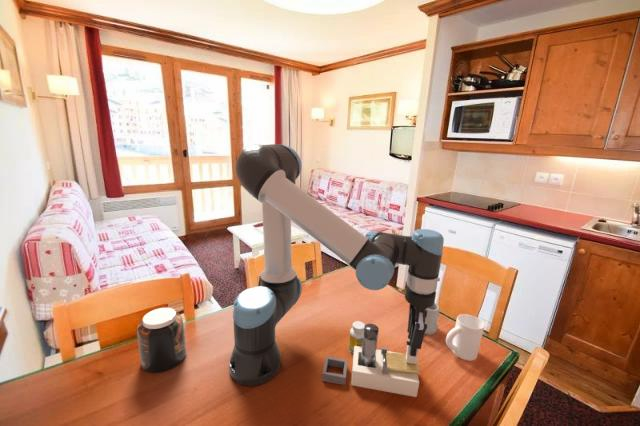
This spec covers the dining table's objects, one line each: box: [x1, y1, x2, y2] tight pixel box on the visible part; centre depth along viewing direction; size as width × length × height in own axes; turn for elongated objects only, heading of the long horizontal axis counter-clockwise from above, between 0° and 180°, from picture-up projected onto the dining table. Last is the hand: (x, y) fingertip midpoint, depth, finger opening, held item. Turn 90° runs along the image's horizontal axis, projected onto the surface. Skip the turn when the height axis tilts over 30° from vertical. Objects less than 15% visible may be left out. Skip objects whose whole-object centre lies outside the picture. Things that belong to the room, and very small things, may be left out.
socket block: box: [350, 346, 420, 398], centre depth 83 cm, size 18×10×7 cm, turn 80°
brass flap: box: [383, 352, 421, 374], centre depth 81 cm, size 10×6×1 cm, turn 80°
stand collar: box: [321, 356, 348, 386], centre depth 84 cm, size 7×7×2 cm
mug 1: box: [424, 302, 440, 336], centre depth 104 cm, size 8×12×12 cm, turn 105°
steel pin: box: [360, 323, 380, 368], centre depth 82 cm, size 4×4×16 cm
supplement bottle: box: [348, 320, 366, 355], centre depth 93 cm, size 5×5×10 cm
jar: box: [136, 307, 187, 374], centre depth 84 cm, size 12×12×15 cm
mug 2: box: [445, 313, 485, 362], centre depth 93 cm, size 8×12×12 cm
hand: (410, 361), depth 81 cm, fingers closed
